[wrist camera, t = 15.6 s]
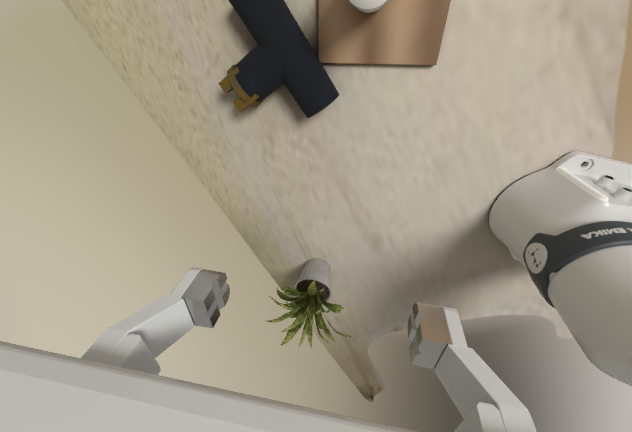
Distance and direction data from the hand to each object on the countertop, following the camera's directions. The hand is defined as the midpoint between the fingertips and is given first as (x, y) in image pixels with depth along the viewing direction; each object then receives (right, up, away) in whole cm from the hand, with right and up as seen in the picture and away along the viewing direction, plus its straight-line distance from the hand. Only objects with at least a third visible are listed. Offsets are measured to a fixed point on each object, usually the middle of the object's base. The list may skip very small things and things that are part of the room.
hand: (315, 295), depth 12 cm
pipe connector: (-6, +23, +24) cm, 34 cm away
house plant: (+1, -6, +44) cm, 44 cm away
